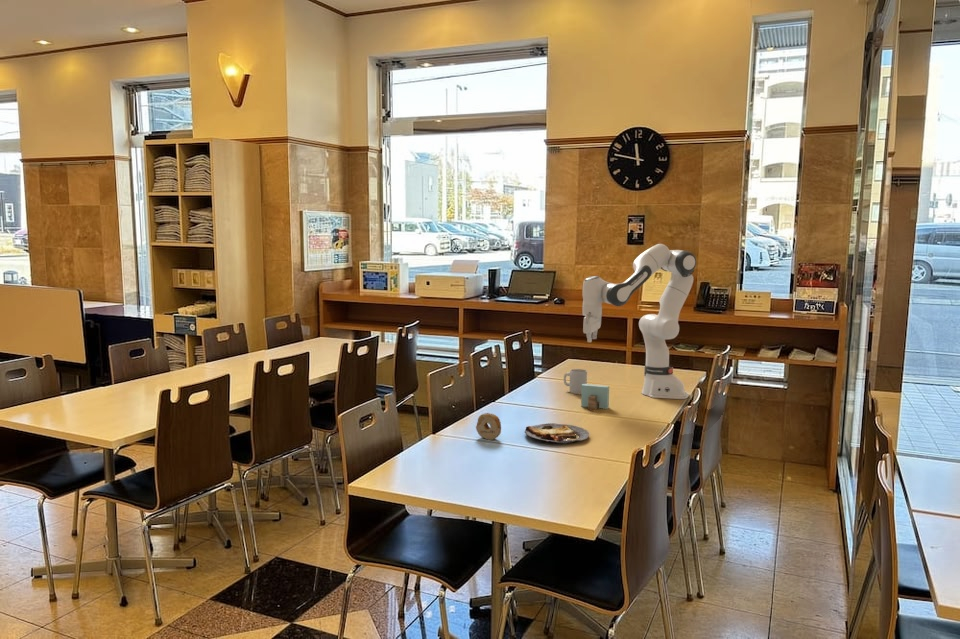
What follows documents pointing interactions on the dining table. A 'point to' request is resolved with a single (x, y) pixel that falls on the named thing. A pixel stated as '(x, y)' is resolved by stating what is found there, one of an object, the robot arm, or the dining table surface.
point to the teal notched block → (597, 390)
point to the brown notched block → (592, 402)
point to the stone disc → (484, 429)
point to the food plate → (556, 432)
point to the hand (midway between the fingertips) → (592, 340)
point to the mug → (576, 380)
